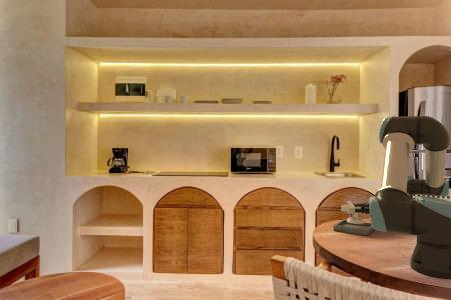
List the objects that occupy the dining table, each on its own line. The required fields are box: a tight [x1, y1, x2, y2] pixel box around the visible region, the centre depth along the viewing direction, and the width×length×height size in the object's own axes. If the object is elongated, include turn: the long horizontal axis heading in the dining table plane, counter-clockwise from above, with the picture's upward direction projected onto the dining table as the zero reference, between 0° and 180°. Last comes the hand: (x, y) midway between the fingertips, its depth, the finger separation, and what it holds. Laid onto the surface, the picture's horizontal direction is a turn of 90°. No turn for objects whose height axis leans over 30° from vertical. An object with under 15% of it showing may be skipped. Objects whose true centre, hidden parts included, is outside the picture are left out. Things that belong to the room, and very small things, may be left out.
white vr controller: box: [346, 200, 365, 224], centre depth 163 cm, size 8×12×7 cm
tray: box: [333, 219, 375, 237], centre depth 162 cm, size 15×15×2 cm
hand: (344, 209), depth 161 cm, fingers closed on white vr controller, 4 cm apart
